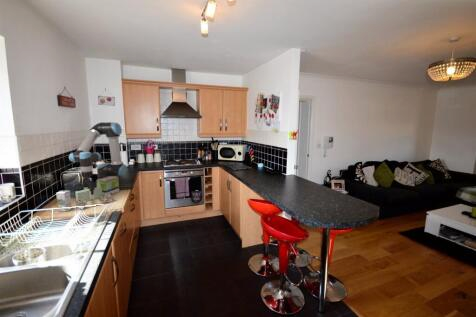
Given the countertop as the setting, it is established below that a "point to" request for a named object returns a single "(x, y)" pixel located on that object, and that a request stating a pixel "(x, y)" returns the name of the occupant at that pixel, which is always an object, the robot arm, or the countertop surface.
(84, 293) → the countertop surface
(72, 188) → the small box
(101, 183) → the tea box
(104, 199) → the cradle
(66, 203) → the syrup box
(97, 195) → the pale green block
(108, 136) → the robot arm
